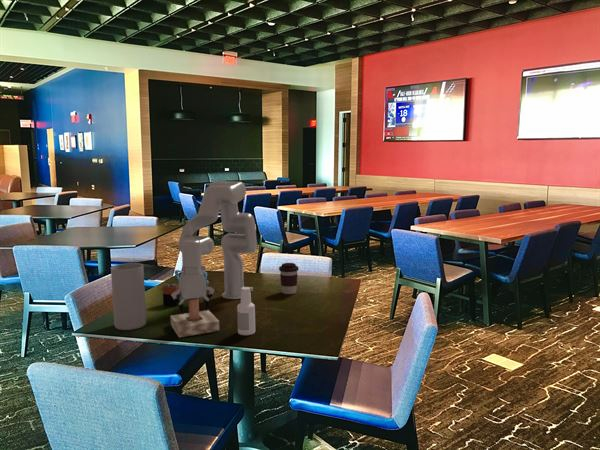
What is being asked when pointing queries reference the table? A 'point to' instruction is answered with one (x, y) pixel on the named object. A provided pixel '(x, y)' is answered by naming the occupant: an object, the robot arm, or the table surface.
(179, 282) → the teapot
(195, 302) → the peg
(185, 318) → the socket block
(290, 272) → the coffee cup
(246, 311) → the spray bottle
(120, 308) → the cylinder vase
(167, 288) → the battery
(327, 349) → the table surface
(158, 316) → the table surface
